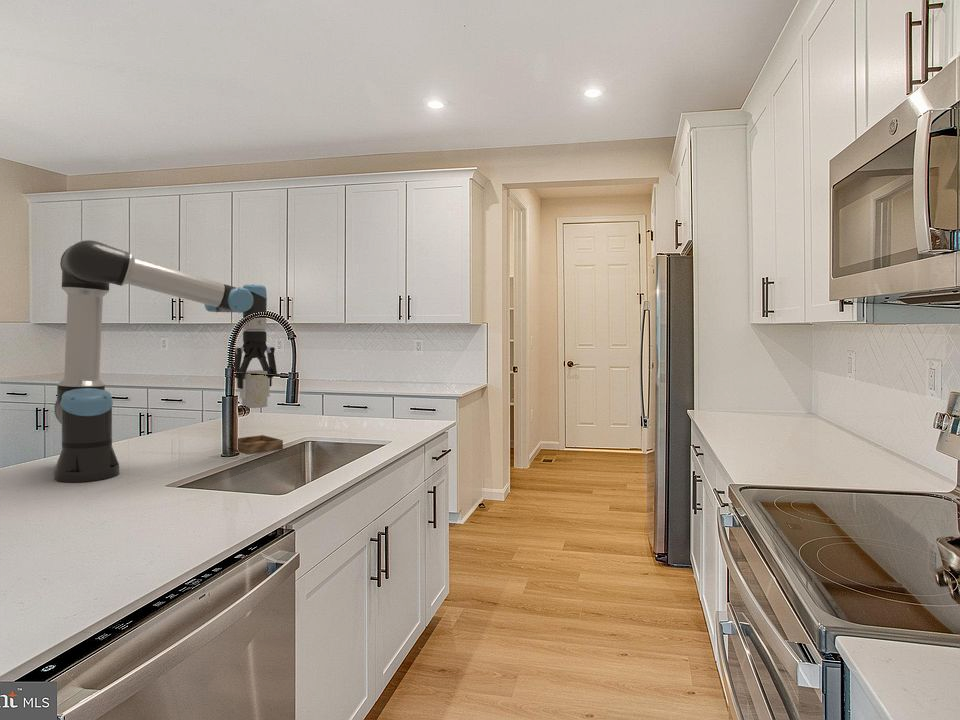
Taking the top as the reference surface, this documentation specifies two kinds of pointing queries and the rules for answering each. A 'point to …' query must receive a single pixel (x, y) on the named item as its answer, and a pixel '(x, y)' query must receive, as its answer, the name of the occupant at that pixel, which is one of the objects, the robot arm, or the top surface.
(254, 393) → the light grey upright block
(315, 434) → the top surface
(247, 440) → the wooden tray
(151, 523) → the top surface
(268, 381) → the robot arm
